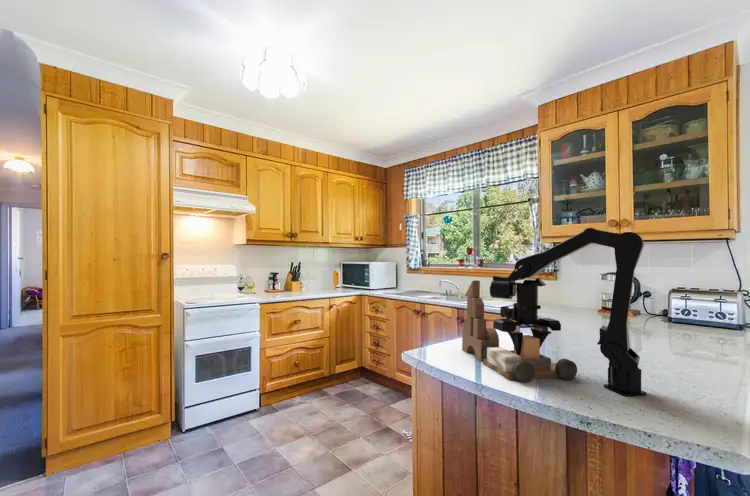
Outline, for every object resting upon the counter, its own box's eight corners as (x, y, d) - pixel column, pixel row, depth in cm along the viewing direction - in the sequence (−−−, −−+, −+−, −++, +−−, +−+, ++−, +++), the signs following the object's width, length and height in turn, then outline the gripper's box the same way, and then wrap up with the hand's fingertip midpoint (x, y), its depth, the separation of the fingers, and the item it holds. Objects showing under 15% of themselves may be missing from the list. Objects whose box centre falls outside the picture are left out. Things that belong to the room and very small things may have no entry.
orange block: (539, 359, 100) (539, 338, 100) (523, 360, 99) (524, 339, 99) (528, 354, 105) (528, 334, 105) (513, 355, 104) (513, 335, 104)
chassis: (580, 379, 95) (580, 359, 95) (513, 382, 91) (513, 361, 91) (536, 359, 113) (536, 342, 113) (479, 361, 109) (479, 344, 109)
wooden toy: (500, 361, 110) (501, 282, 111) (480, 361, 109) (481, 282, 110) (477, 348, 126) (478, 278, 126) (459, 348, 124) (460, 278, 125)
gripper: (537, 297, 112) (537, 346, 112) (484, 297, 108) (483, 348, 108) (562, 302, 101) (562, 356, 101) (503, 302, 98) (503, 358, 97)
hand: (526, 354), depth 102 cm, fingers closed on orange block, 5 cm apart
